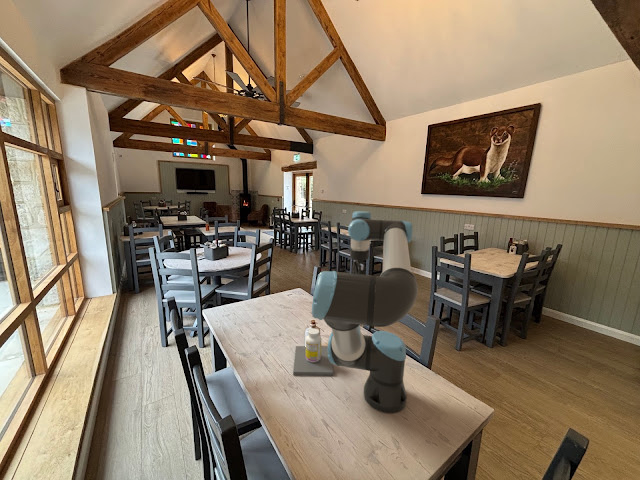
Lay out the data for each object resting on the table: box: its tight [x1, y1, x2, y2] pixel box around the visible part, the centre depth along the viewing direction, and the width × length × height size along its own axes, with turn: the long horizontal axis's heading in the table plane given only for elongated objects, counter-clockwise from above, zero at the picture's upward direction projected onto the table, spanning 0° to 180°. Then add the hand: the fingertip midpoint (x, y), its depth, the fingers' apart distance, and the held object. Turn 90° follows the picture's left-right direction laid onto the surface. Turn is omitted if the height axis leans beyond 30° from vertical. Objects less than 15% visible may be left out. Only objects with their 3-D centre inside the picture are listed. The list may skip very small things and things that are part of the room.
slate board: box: [292, 345, 334, 376], centre depth 116 cm, size 18×16×2 cm
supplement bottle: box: [305, 328, 322, 362], centre depth 114 cm, size 7×7×13 cm
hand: (357, 297), depth 113 cm, fingers open, 13 cm apart
